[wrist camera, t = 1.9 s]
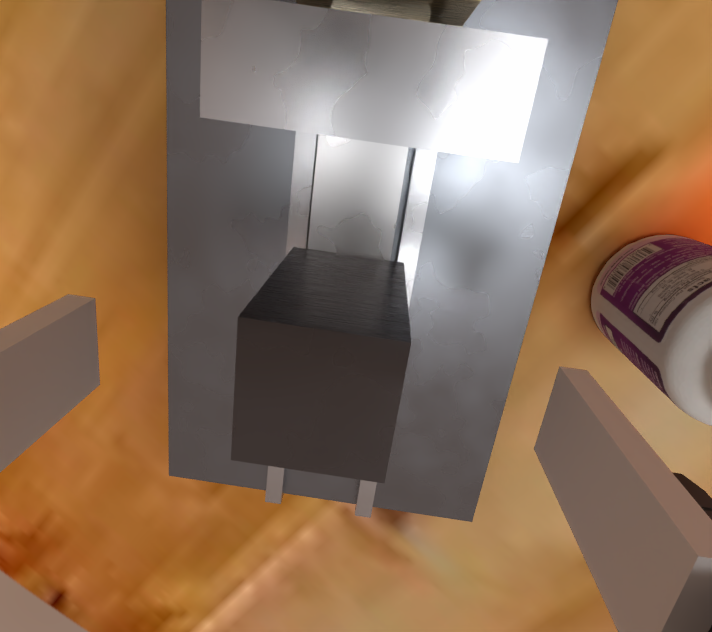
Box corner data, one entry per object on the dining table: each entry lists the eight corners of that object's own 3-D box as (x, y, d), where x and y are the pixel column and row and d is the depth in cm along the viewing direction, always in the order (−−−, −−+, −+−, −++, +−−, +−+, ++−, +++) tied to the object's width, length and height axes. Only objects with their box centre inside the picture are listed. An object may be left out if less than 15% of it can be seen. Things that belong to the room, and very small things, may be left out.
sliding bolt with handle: (387, 331, 22) (384, 483, 13) (298, 318, 22) (230, 460, 13) (463, -115, 16) (558, -432, 7) (341, -132, 16) (276, -468, 7)
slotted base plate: (468, 505, 27) (495, 638, 20) (178, 460, 27) (104, 577, 20) (645, -145, 17) (825, -333, 10) (179, -207, 17) (33, -436, 10)
